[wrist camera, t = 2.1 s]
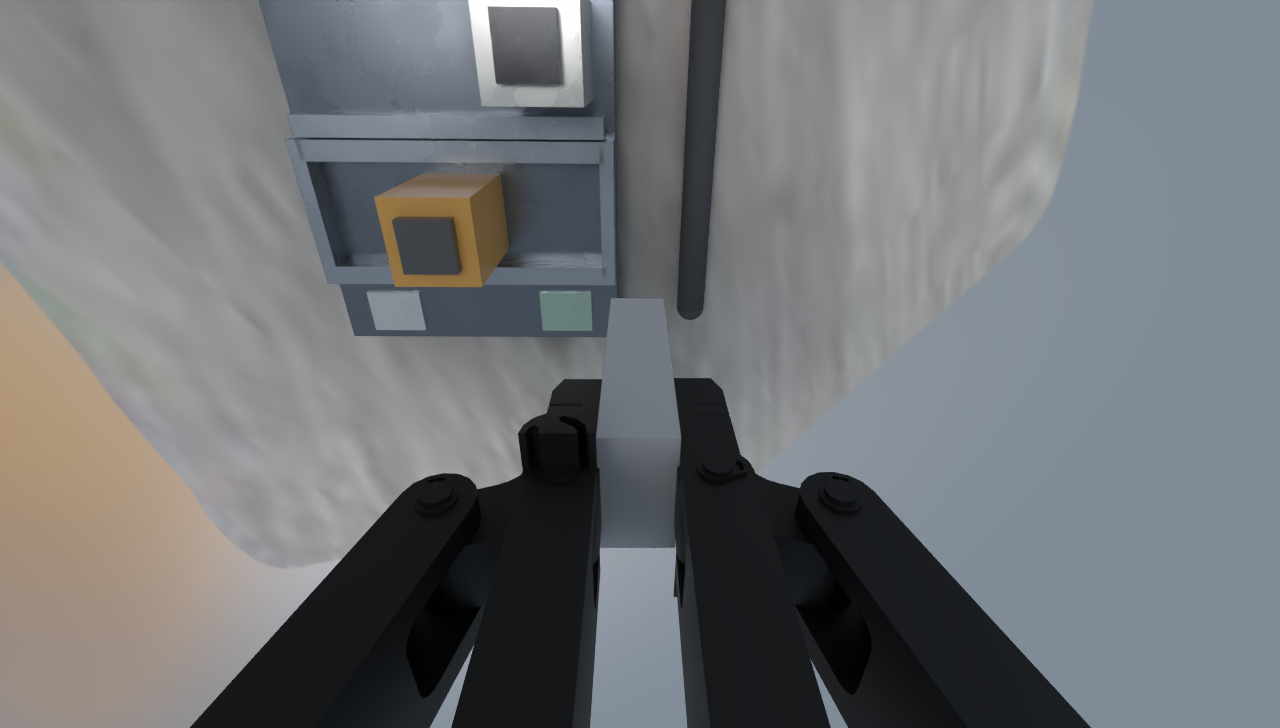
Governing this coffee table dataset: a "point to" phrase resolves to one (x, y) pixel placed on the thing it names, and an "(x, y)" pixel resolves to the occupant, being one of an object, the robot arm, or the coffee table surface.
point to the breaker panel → (458, 150)
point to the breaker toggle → (444, 229)
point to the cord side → (699, 151)
